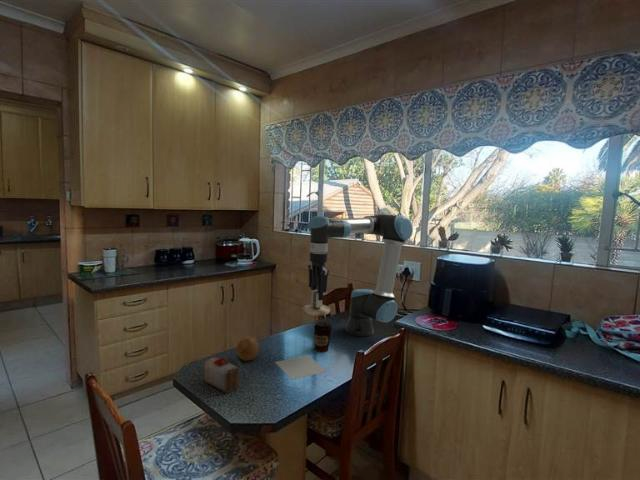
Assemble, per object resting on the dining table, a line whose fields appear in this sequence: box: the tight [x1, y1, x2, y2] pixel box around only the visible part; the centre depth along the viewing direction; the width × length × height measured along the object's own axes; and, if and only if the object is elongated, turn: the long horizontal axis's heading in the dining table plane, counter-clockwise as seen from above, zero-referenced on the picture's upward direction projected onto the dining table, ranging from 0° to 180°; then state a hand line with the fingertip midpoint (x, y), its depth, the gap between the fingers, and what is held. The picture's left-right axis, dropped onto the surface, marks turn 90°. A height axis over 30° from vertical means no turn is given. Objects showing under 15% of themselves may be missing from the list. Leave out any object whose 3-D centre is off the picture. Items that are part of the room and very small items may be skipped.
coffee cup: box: [313, 321, 333, 353], centre depth 161 cm, size 9×8×13 cm
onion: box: [236, 335, 261, 362], centre depth 148 cm, size 10×10×10 cm
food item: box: [203, 357, 240, 394], centre depth 127 cm, size 14×8×10 cm, turn 55°
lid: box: [302, 292, 331, 316], centre depth 151 cm, size 12×12×8 cm
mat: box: [274, 355, 327, 381], centre depth 143 cm, size 16×16×1 cm
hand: (316, 305), depth 151 cm, fingers closed on lid, 3 cm apart
